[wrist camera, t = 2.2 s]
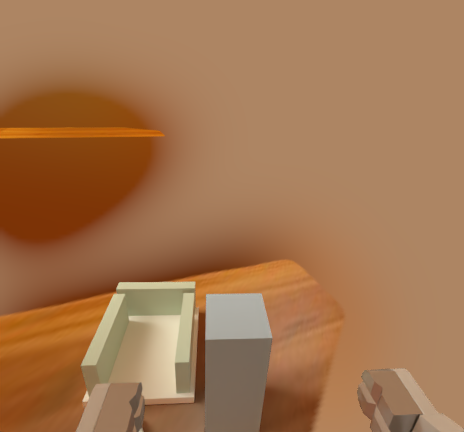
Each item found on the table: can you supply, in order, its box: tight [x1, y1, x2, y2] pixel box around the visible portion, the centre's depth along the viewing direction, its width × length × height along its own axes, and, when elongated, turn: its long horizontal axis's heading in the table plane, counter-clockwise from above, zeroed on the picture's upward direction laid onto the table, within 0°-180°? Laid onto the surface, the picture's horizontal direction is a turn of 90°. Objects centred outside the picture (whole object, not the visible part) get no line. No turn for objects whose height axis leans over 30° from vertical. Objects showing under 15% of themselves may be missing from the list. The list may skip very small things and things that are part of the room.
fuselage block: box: [205, 293, 272, 432], centre depth 28 cm, size 6×6×14 cm
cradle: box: [81, 282, 199, 408], centre depth 36 cm, size 12×14×6 cm
